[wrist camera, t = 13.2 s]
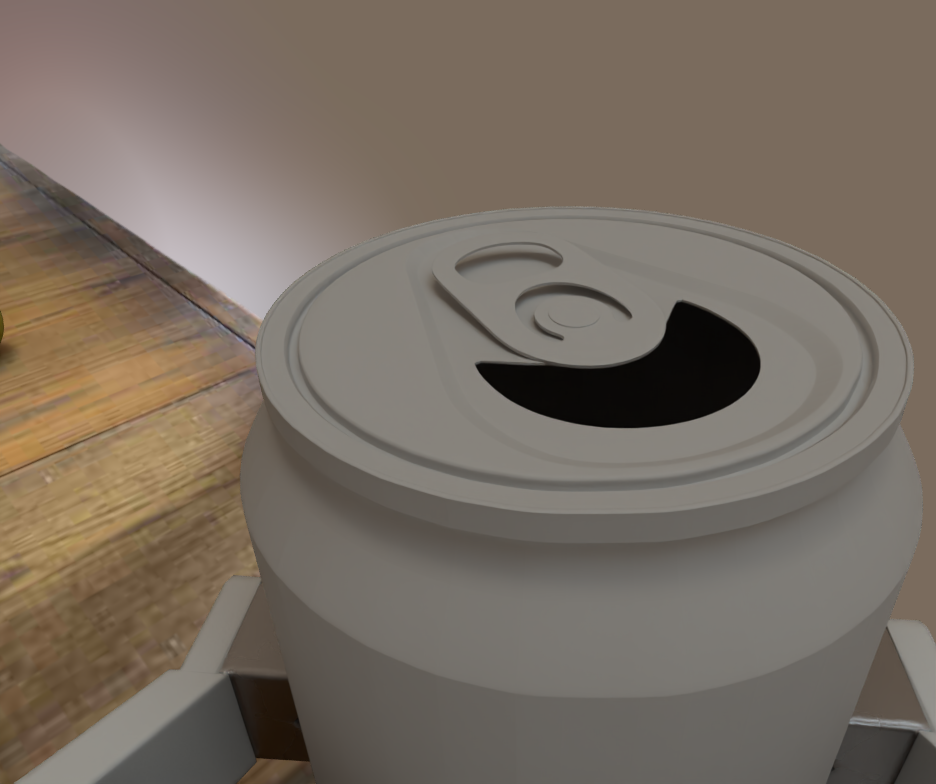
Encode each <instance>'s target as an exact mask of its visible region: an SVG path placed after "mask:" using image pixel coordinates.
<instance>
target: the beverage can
mask: <svg viewBox="0 0 936 784" xmlns="http://www.w3.org/2000/svg"><path fill="white" fill-rule="evenodd" d="M255 358H256V368H257V373H258V377H259V382H260V387H261V391H262V395H263V399H264V400H263V402H262V404H261V406H260V408H259V411H258V413H257V415H256V417H255V420H254V422H253V424H252V427H251V429H250V432H249V434H248V437H247V439H246V443H245V447H244V451H243V455H242V462H241V471H240V491H241V499H242V504H243V510H244V515H245V519H246V523H247V526H248V530H249V534H250V538H251V541H252V545H253V549H254V553H255V556H256V560H257V564H258V568H259V572H260V575H261V579H262V583H263V587H264V590H265V594H266V598H267V602H268V605H269V609H270V613H271V617H272V620H273V624H274V628H275V632H276V635H277V639H278V643H279V647H280V650H281V654H282V658H283V662H284V665H285V669H286V673H287V677H288V680H289V684H290V688H291V692H292V695H293V699H294V703H295V707H296V710H297V714H298V718H299V722H300V726H301V729H302V733H303V737H304V741H305V744H306V748H307V752H308V756H309V759H310V763H311V767H312V771H313V774H314V778H315V782H316V784H826V782H827V779H828V777H829V774H830V772H831V769H832V766H833V764H834V761H835V758H836V756H837V753H838V751H839V748H840V745H841V743H842V740H843V738H844V735H845V732H846V730H847V727H848V725H849V722H850V719H851V717H852V714H853V712H854V709H855V706H856V704H857V701H858V699H859V696H860V693H861V691H862V688H863V686H864V683H865V680H866V678H867V675H868V673H869V670H870V667H871V665H872V662H873V660H874V657H875V654H876V652H877V649H878V647H879V644H880V641H881V639H882V636H883V634H884V631H885V628H886V626H887V623H888V621H889V618H890V615H891V613H892V610H893V608H894V605H895V602H896V600H897V597H898V594H899V592H900V589H901V587H902V584H903V582H904V579H905V576H906V574H907V571H908V569H909V566H910V563H911V561H912V558H913V555H914V552H915V549H916V546H917V543H918V540H919V536H920V531H921V526H922V512H923V501H922V485H921V480H920V475H919V472H918V469H917V466H916V462H915V459H914V456H913V454H912V451H911V449H910V446H909V444H908V442H907V439H906V437H905V435H904V433H903V430H902V428H901V426H900V421H901V419H902V416H903V412H904V409H905V406H906V403H907V400H908V397H909V394H910V391H911V387H912V384H913V374H914V357H913V352H912V348H911V345H910V342H909V340H908V337H907V335H906V333H905V331H904V329H903V327H902V325H901V324H900V323H899V321H898V320H897V318H896V317H895V315H894V314H893V313H892V312H891V310H890V309H889V308H888V307H887V306H886V305H885V303H884V302H883V301H882V300H881V299H880V298H879V297H878V296H877V295H876V294H874V293H873V292H872V291H871V290H870V289H868V288H867V287H866V286H864V284H862V283H861V282H860V281H858V280H857V279H856V278H854V277H853V276H851V275H850V274H848V273H846V272H845V271H843V270H841V269H840V268H838V267H836V266H835V265H833V264H831V263H829V262H828V261H826V260H824V259H822V258H820V257H818V256H815V255H813V254H811V253H809V252H807V251H804V250H802V249H800V248H798V247H795V246H793V245H790V244H788V243H785V242H782V241H780V240H776V239H774V238H771V237H768V236H765V235H761V234H758V233H755V232H752V231H748V230H745V229H741V228H737V227H734V226H730V225H726V224H721V223H717V222H713V221H708V220H703V219H698V218H693V217H688V216H682V215H675V214H668V213H661V212H654V211H645V210H635V209H622V208H609V207H576V206H575V207H573V206H568V207H566V206H564V207H532V208H516V209H504V210H495V211H487V212H479V213H471V214H466V215H459V216H454V217H448V218H443V219H438V220H433V221H429V222H425V223H421V224H417V225H413V226H409V227H406V228H402V229H398V230H395V231H392V232H389V233H386V234H384V235H380V236H378V237H375V238H372V239H369V240H367V241H364V242H362V243H359V244H357V245H355V246H353V247H350V248H348V249H346V250H344V251H342V252H340V253H338V254H336V255H334V256H332V257H330V258H329V259H327V260H325V261H324V262H322V263H320V264H318V265H317V266H315V267H314V268H312V269H311V270H309V271H308V272H306V273H305V274H304V275H302V276H301V277H300V278H299V279H297V280H296V281H295V282H294V283H293V284H291V286H289V287H288V288H287V289H286V290H285V291H284V292H283V293H282V294H281V295H280V297H279V298H278V299H277V300H276V301H275V302H274V304H273V305H272V307H271V308H270V310H269V311H268V313H267V314H266V316H265V318H264V320H263V322H262V324H261V326H260V330H259V333H258V336H257V340H256V349H255Z"/></svg>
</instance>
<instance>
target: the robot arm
mask: <svg viewBox="0 0 936 784" xmlns="http://www.w3.org/2000/svg"><path fill="white" fill-rule="evenodd" d="M256 758H263V759H278V760H294V761H309V762H310V759H309V756H308V752H307V748H306V744H305V741H304V737H303V733H302V729H301V726H300V722H299V718H298V714H297V710H296V707H295V703H294V699H293V695H292V692H291V688H290V684H289V680H288V677H287V673H286V669H285V665H284V662H283V658H282V654H281V650H280V647H279V643H278V639H277V635H276V632H275V628H274V624H273V620H272V617H271V613H270V609H269V605H268V602H267V598H266V594H265V590H264V587H263V583H262V579H261V577H250V576H238V575H233V576H232V577H231V578H230V579H229V580H228V581H227V582H225V584H224V585H223V587H222V589H221V591H220V593H219V595H218V596H217V598H216V600H215V602H214V604H213V606H212V608H211V610H210V612H209V614H208V616H207V618H206V620H205V621H204V623H203V625H202V627H201V629H200V631H199V633H198V635H197V637H196V639H195V641H194V643H193V645H192V646H191V648H190V650H189V652H188V654H187V656H186V658H185V660H184V662H183V664H182V666H181V668H180V670H170V669H169V670H168V671H166V672H165V673H164V674H162V675H161V676H160V677H158V678H157V679H155V680H154V681H153V682H151V683H150V684H149V685H147V686H146V687H145V688H143V689H142V690H140V691H139V692H138V693H136V694H135V695H134V696H132V697H131V698H130V699H128V700H127V701H126V702H124V703H123V704H121V705H120V706H119V707H117V708H116V709H115V710H113V711H112V712H111V713H109V714H108V715H106V716H105V717H104V718H102V719H101V720H100V721H98V722H97V723H96V724H94V725H93V726H91V727H90V728H89V729H87V730H86V731H85V732H83V733H82V734H81V735H79V736H78V737H77V738H75V739H74V740H72V741H71V742H70V743H68V744H67V745H66V746H64V747H63V748H62V749H60V750H59V751H57V752H56V753H55V754H53V755H52V756H51V757H49V758H48V759H47V760H45V761H44V762H42V763H41V764H40V765H38V766H37V767H36V768H34V769H33V770H32V771H30V772H29V773H27V774H26V775H25V776H23V777H22V778H21V779H19V780H18V781H17V782H15V783H14V784H236V783H237V782H238V781H239V780H240V779H241V778H242V777H243V776H244V775H245V774H246V773H247V772H248V771H249V770H250V769H251V768H252V766H253V765H254V764H255V763H256ZM826 784H936V644H935V642H934V640H933V638H932V636H931V634H930V632H929V630H928V628H927V627H926V626H925V625H924V624H923V623H922V622H921V621H916V620H900V619H889V621H888V623H887V626H886V628H885V631H884V634H883V636H882V639H881V641H880V644H879V647H878V649H877V652H876V654H875V657H874V660H873V662H872V665H871V667H870V670H869V673H868V675H867V678H866V680H865V683H864V686H863V688H862V691H861V693H860V696H859V699H858V701H857V704H856V706H855V709H854V712H853V714H852V717H851V719H850V722H849V725H848V727H847V730H846V732H845V735H844V738H843V740H842V743H841V745H840V748H839V751H838V753H837V756H836V758H835V761H834V764H833V766H832V769H831V772H830V774H829V777H828V779H827V782H826Z"/></svg>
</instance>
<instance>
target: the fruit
mask: <svg viewBox="0 0 936 784" xmlns="http://www.w3.org/2000/svg"><path fill="white" fill-rule="evenodd" d="M3 332H4V323H3V317H2V314H1V311H0V343H1V340H2V337H3Z"/></svg>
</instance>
